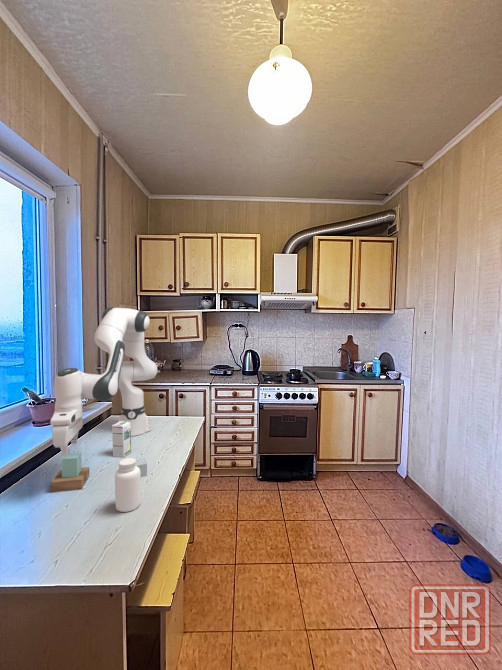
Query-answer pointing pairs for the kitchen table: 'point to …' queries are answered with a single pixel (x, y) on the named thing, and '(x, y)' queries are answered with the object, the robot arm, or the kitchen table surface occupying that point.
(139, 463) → the grey block
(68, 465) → the teal block
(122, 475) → the pill bottle
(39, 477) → the kitchen table surface
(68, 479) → the base block
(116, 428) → the syrup box
